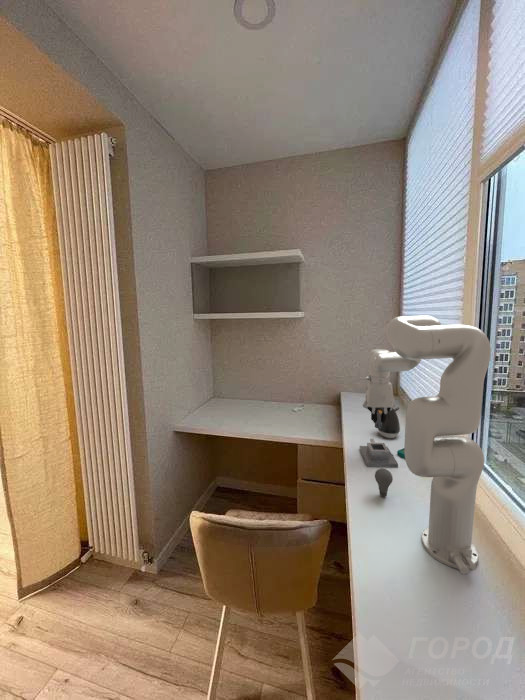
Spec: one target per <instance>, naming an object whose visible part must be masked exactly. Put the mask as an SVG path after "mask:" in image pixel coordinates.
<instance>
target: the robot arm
mask: <svg viewBox="0 0 525 700" xmlns="http://www.w3.org/2000/svg"><path fill="white" fill-rule="evenodd" d="M385 329H386V330H385V335H386V339H387V342H389V344H390V345H391V346H392V347H393V350H394V351H390V350H388V349H383V348H375V349H372V350H371V351H370V353H369V375H368V376H365V379H366V381H368V382H367V385H366V391H365V400H364V402H363V403H362V405H361V406H362V407H363V408H364V409H366V410H368V411H369V412H370V414H371V415H370V419H371V421H372V422H373V423H374V424H375V423H376V413H375V408H382V423H385V420H386V414H387V412H388V411H389V410H390V409H392V408H393V409H395V408H396V404H395V403H394V392H393V384H392V382H390V375H391V374H390V373H394V372H396V373H397V372H408V371H411V370H413V369H415V367H417V366H419V365H420V364H421V361H422V360H437V359H440V360H441V359H452V361H451V362H450V363H449V364H448V365H447V367H446V368H444V369H445V370H444V371H443V372H442V373H441V376H440V381H439V383H440V384H439V391H438V394H437V395H435V396H434V395H433V396H421V397H417V398H415V399H413V400H411V402H410V403H409V404H408V406H407V408H406V413H405V424H404V425H405V427H404V429H405V430H404V454H405V459H404V460H405V463H406V466H407V468H408V470H409V471H410V472H411V473H412V474H414V475H415V476H416V477H420V478H432V480H431V485H430V495H429V497H430V498H429V499H430V500H429V515H428V516H429V517H428V527H426V528H425V529H423V531H421V532H422V533H421V542H422V545H423V547H424V549H425V551H427V553H428V554H430V556H431V557H433V558H434V559H435V560H437V561H438V562H440V563H442V564H443V565H445V566H448V567H451V568H454V569H458V570H459V572H460V573H461V574H462V575H467V574H468V573H469V572H470V570H475V569H476V568H477V564H478V562H479V553H478V550H477V548H476V547H475V545H474V544H473V543H472V541H473V530H474V519H475V518H474V517H475V508H476V507H475V505H476V498H477V488H478V484H479V481H480V478H481V476H482V473H483V470H484V467H485V457H484V452H483V450H482V448H481V447H480V445H479V444H478V443H477V442H476V441H474V440H473V439H472V438H470V437H466V436H465V435H471V434H474V433H475V432H476V431H477V430H478V429H479V426H480V422H481V421H480V420H481V413H482V405H483V403H482V402H483V395H484V394H483V393H484V381H485V377H486V374H487V371H488V368H489V364H490V361H491V356H492V354H491V351H492V349H491V343H490V340H489V338H488V336H487V335H486V333H485V332H484V331H483V330H482V329H480V328H478V327H476V326H472V325H467V324H442V322H441V321H439V320H438V318H436V317H433V316H431V315H424V314H423V315H402V316H396V317H394V318H392V319H391V320H390V321H389V322H388V323H387V326H386V328H385ZM463 435H464V436H463ZM469 569H470V570H469Z"/></svg>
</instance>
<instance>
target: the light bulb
mask: <svg viewBox="0 0 525 700" xmlns="http://www.w3.org/2000/svg"><path fill="white" fill-rule="evenodd" d="M374 479H375V481H376V483H377V485H378V490H379V496H380V497H382V498H386V497H387V496H388V491H389V487H390V486H391V484H392V483H393V475H392V473H391V472H390V471H389V470H388V469H387V468H385V467H380V468H378V469H377V470H376V471H375V474H374Z"/></svg>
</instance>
